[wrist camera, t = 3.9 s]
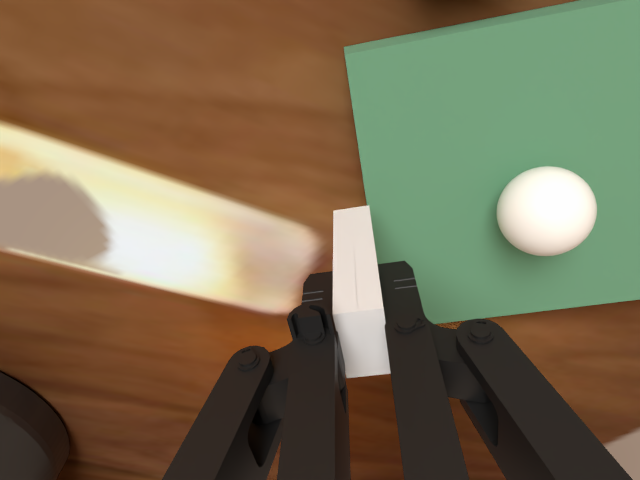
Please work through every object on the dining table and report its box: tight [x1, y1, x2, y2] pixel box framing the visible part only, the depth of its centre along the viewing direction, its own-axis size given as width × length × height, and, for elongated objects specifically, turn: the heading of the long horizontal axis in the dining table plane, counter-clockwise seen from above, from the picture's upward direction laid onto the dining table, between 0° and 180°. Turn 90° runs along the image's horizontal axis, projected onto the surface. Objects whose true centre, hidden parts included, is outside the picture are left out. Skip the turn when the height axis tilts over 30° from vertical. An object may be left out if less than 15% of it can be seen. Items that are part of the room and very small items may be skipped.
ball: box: [497, 166, 597, 256], centre depth 18 cm, size 4×4×4 cm
